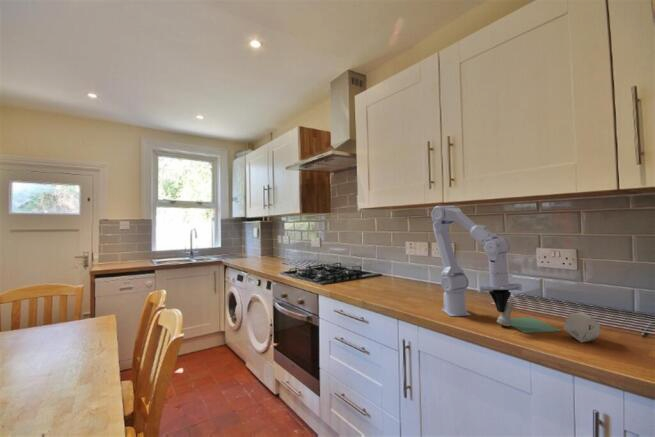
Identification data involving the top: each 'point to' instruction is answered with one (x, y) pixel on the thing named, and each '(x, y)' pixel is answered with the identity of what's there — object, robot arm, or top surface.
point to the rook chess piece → (506, 315)
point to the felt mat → (531, 325)
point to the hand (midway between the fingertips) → (500, 311)
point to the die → (582, 327)
